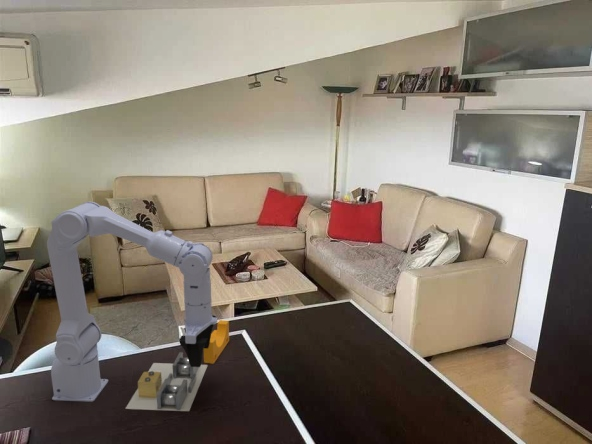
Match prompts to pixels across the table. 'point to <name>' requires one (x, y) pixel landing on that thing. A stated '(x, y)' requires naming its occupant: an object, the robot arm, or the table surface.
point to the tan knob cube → (149, 384)
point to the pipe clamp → (217, 342)
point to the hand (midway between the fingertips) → (200, 356)
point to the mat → (165, 371)
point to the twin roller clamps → (177, 392)
